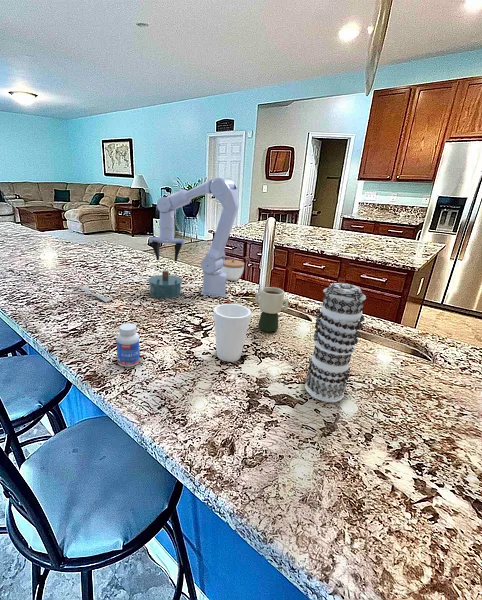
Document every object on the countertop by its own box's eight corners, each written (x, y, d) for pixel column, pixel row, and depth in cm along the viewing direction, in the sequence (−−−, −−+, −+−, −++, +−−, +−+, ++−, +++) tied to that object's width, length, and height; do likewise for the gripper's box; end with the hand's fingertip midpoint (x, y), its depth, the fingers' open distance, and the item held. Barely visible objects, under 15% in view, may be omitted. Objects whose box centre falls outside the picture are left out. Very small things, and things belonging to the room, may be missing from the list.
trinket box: (241, 283, 145) (243, 262, 142) (218, 280, 147) (219, 260, 143) (244, 276, 155) (245, 257, 151) (222, 274, 157) (223, 255, 153)
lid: (184, 278, 131) (184, 267, 130) (179, 289, 119) (179, 277, 117) (152, 276, 132) (152, 265, 130) (144, 286, 120) (144, 274, 118)
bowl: (183, 290, 133) (183, 277, 131) (178, 300, 121) (178, 286, 119) (153, 288, 133) (153, 275, 131) (146, 298, 122) (145, 284, 120)
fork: (105, 309, 116) (105, 302, 115) (72, 289, 127) (72, 283, 126) (112, 306, 119) (112, 300, 117) (79, 288, 129) (78, 281, 128)
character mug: (288, 330, 102) (294, 291, 97) (279, 338, 96) (284, 298, 91) (257, 320, 107) (261, 283, 103) (247, 327, 102) (251, 289, 97)
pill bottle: (120, 369, 77) (118, 333, 74) (115, 358, 82) (113, 323, 78) (142, 364, 80) (141, 329, 76) (136, 354, 84) (135, 320, 80)
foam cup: (249, 350, 88) (254, 307, 84) (242, 368, 80) (246, 320, 75) (217, 344, 91) (219, 301, 86) (206, 360, 83) (208, 314, 78)
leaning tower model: (341, 409, 67) (368, 298, 58) (298, 393, 72) (316, 287, 63) (349, 387, 75) (374, 285, 66) (309, 374, 79) (327, 276, 70)
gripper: (146, 228, 127) (147, 261, 132) (183, 230, 127) (182, 263, 132) (151, 225, 134) (151, 257, 139) (185, 227, 133) (185, 259, 138)
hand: (166, 260), depth 136 cm, fingers open, 7 cm apart
